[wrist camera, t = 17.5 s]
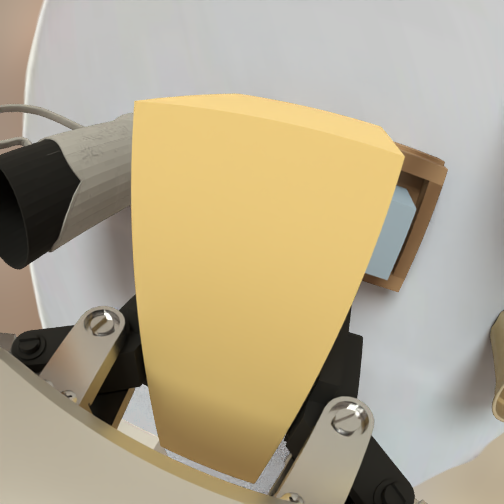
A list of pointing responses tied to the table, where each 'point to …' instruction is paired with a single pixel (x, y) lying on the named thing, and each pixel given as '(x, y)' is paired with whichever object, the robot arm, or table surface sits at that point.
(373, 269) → the pale grey-blue block
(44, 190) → the glass holder
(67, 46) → the table surface
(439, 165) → the cradle
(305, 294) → the mustard wooden brick
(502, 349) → the flower pot
